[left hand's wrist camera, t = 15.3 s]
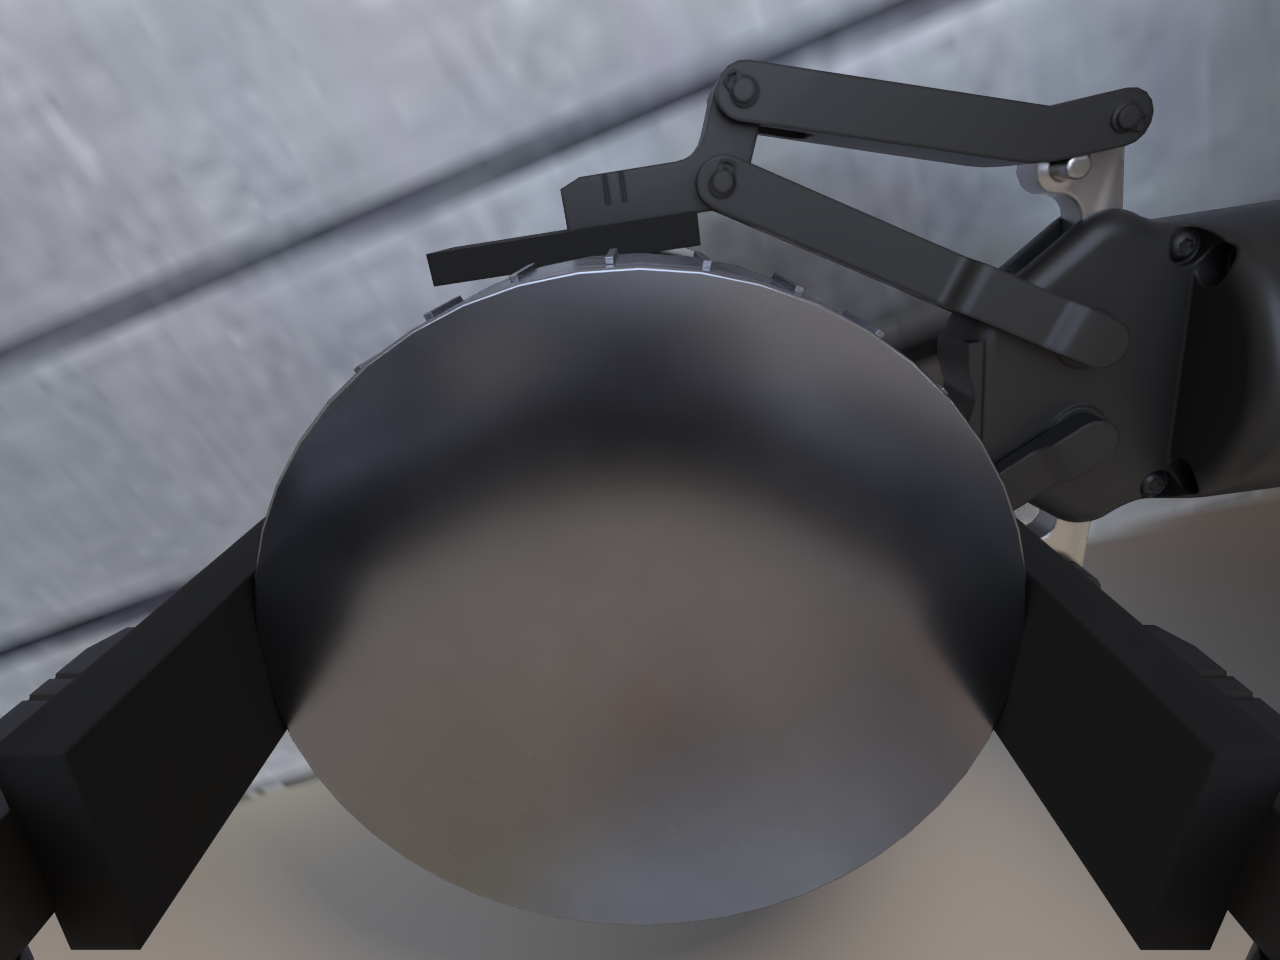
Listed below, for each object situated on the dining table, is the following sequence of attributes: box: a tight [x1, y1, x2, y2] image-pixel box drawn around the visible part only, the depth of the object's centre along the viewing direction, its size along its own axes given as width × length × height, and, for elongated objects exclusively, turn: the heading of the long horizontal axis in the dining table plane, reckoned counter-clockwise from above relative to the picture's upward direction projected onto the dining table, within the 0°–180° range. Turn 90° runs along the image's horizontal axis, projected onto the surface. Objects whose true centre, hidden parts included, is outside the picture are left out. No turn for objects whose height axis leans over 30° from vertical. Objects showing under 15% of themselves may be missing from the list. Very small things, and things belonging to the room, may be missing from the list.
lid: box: [255, 248, 1026, 925], centre depth 11 cm, size 11×11×2 cm
